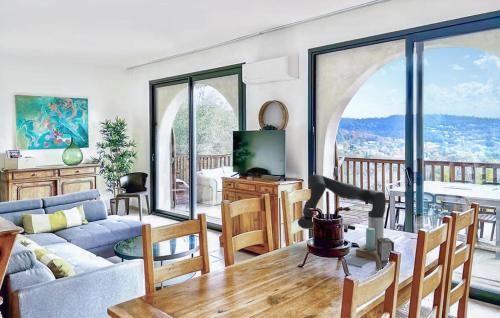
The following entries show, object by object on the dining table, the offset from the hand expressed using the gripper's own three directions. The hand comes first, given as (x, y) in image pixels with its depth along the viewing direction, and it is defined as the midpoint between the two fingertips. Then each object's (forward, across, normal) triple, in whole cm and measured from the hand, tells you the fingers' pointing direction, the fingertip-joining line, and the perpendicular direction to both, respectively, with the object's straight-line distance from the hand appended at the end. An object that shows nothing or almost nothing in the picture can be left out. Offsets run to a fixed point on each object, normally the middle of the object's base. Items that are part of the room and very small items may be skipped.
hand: (351, 229), depth 230 cm
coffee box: (+29, +17, -14) cm, 37 cm away
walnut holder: (+12, -1, -13) cm, 18 cm away
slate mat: (+12, +14, -14) cm, 23 cm away
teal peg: (+12, -1, -13) cm, 17 cm away
